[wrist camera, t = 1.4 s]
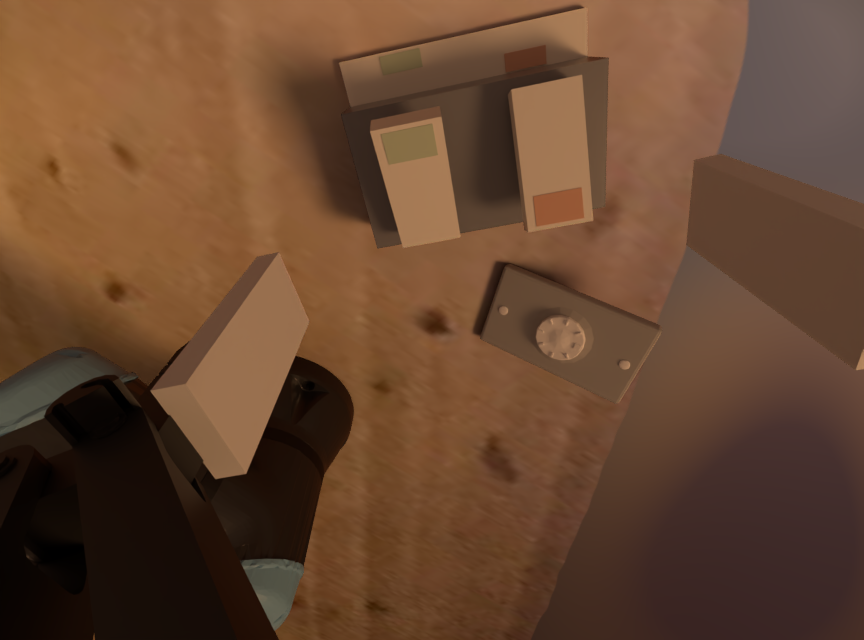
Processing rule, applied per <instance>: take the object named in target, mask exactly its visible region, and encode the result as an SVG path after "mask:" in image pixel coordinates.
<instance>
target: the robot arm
mask: <svg viewBox="0 0 864 640" xmlns="http://www.w3.org/2000/svg"><path fill="white" fill-rule="evenodd" d="M686 245H687V246H689V247H690V248H691V249H693V250H694V251H695V252H697V253H698V254H699V255H701V256H702V257H703V258H705V259H706V260H708V261H709V262H710V263H712V264H713V265H714V266H716V267H717V268H718V269H720V270H721V271H722V272H724V273H725V274H727V275H728V276H729V277H730V278H732V279H733V280H734V281H736V282H737V283H739V284H740V285H741V286H743V287H744V288H745V289H747V290H748V291H749V292H751V293H752V294H754V295H755V296H756V297H757V298H759V299H760V300H762V301H763V302H764V303H766V304H767V305H768V306H770V307H771V308H772V309H774V310H775V311H776V312H778V313H779V314H781V315H782V316H783V317H784V318H786V319H787V320H789V321H790V322H791V323H793V324H794V325H795V326H797V327H798V328H799V329H801V330H802V331H803V332H805V333H806V334H807V335H809V336H810V337H811V338H813V339H814V340H815V341H817V342H818V343H819V344H821V345H822V346H824V347H825V348H826V349H828V350H829V351H830V352H832V353H833V354H834V355H836V356H837V357H838V358H840V359H841V360H843V361H844V362H845V363H847V364H848V365H850V366H851V367H852V368H853V369H855V370H860V369H864V204H862V203H859V202H857V201H854V200H851V199H848V198H845V197H842V196H839V195H837V194H834V193H831V192H828V191H825V190H822V189H819V188H817V187H814V186H811V185H808V184H805V183H802V182H800V181H797V180H794V179H791V178H788V177H785V176H782V175H779V174H776V173H774V172H771V171H768V170H765V169H762V168H759V167H757V166H754V165H751V164H748V163H745V162H742V161H739V160H737V159H733V158H730V157H728V156H725V155H722V154H719V155H714V156H710V157H705V158H701V159H696V160H694V167H693V178H692V189H691V200H690V211H689V222H688V233H687V244H686ZM308 324H309V320H308V317H307V315H306V313H305V310H304V308H303V306H302V304H301V301H300V299H299V297H298V294H297V292H296V290H295V288H294V285H293V283H292V281H291V278H290V276H289V274H288V272H287V269H286V267H285V265H284V262H283V260H282V258H281V256H280V253H279V252H277V253H273V254H268V255H264V256H259V257H257V258H256V259H255V260H254V262H253V263H252V264H251V265H250V267H249V268H248V269H247V270H246V272H245V273H244V274H243V275H242V277H241V278H240V279H239V280H238V282H237V283H236V284H235V285H234V287H233V288H232V289H231V290H230V292H229V293H228V294H227V295H226V297H225V298H224V299H223V300H222V302H221V303H220V304H219V305H218V307H217V308H216V309H215V310H214V312H213V313H212V314H211V315H210V317H209V318H208V319H207V320H206V322H205V323H204V324H203V325H202V327H201V328H200V329H199V330H198V332H197V333H196V334H195V335H194V337H193V338H192V339H191V340H190V341H189V342H188V343H187V344H185V345H184V346H183V347H181V348H180V349H179V350H178V351H177V352H176V353H175V354H174V356H173V357H172V358H171V359H170V360H169V362H168V363H167V364H168V365H166V366H165V367H164V368H163V369H162V370H161V371H160V373H159V376H156V378H155V379H154V380H153V381H152V383H151V384H150V385H149V386H147V385H146V384H144V383H143V382H142V381H140V380H139V379H138V376H137V375H136V374H135V373H129V372H127V371H126V370H124V369H122V368H121V367H119V366H118V365H116V364H114V363H113V362H111V361H110V360H108V359H106V358H105V357H103V356H101V355H100V354H98V353H97V352H95V351H93V350H90V349H87V348H83V347H70V348H64V349H60V350H57V351H55V352H53V353H51V354H49V355H47V356H45V357H43V358H41V359H39V360H38V361H36V362H34V363H33V364H31V365H29V366H27V367H26V368H24V369H22V370H21V371H19V372H17V373H16V374H14V375H12V376H11V377H9V378H8V379H6V380H4V381H3V382H1V383H0V640H93V636H94V634H95V640H279V639H278V637H277V635H276V633H275V630H276V629H277V628H279V627H280V626H281V624H282V623H283V622H284V621H285V619H286V618H287V616H288V614H289V612H290V609H291V606H292V603H293V599H294V596H295V593H296V590H297V587H298V584H299V580H300V579H301V577H302V575H303V573H304V567H303V566H304V562H305V557H306V553H307V548H308V544H309V539H310V535H311V530H312V526H313V521H314V517H315V512H316V508H317V503H318V499H319V495H320V490H321V486H322V481H323V477H324V474H325V472H326V471H327V469H328V468H329V466H330V465H331V463H332V462H333V460H334V459H335V457H336V456H337V454H338V452H339V451H340V449H341V448H342V447H343V446H344V444H345V443H346V441H347V439H348V437H349V434H350V431H351V426H352V421H353V414H354V409H353V403H352V399H351V397H350V394H349V393H348V391H347V389H346V388H345V386H344V385H343V384H342V383H341V381H340V380H339V379H338V378H337V377H335V376H334V375H333V374H332V373H330V372H329V371H328V370H326V369H325V368H323V367H321V366H319V365H317V364H315V363H313V362H310V361H308V360H305V359H301V358H297V357H295V355H296V353H297V350H298V348H299V346H300V343H301V341H302V338H303V336H304V334H305V331H306V329H307V326H308Z"/></svg>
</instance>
